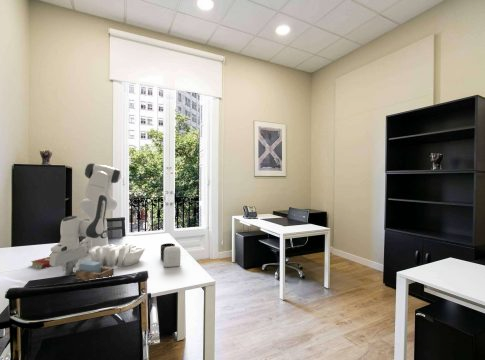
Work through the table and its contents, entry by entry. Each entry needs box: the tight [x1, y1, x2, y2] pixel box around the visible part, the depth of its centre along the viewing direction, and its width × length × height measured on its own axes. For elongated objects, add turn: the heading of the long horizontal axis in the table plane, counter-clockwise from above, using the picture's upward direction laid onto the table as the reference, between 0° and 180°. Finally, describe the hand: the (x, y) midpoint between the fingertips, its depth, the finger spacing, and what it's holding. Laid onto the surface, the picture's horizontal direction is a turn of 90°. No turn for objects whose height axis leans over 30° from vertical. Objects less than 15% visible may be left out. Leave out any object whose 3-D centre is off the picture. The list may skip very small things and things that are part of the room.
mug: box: [160, 242, 176, 261], centre depth 171 cm, size 9×12×9 cm
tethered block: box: [65, 260, 102, 276], centre depth 140 cm, size 22×5×8 cm, turn 74°
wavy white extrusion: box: [88, 242, 146, 267], centre depth 163 cm, size 35×16×11 cm, turn 90°
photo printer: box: [163, 245, 181, 268], centre depth 157 cm, size 10×4×12 cm, turn 103°
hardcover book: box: [30, 256, 52, 270], centre depth 160 cm, size 12×21×4 cm, turn 153°
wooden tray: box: [75, 266, 115, 281], centre depth 137 cm, size 16×9×4 cm, turn 74°
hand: (69, 268), depth 143 cm, fingers closed on tethered block, 4 cm apart
